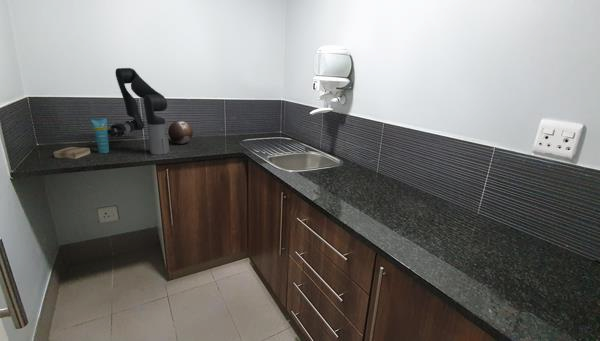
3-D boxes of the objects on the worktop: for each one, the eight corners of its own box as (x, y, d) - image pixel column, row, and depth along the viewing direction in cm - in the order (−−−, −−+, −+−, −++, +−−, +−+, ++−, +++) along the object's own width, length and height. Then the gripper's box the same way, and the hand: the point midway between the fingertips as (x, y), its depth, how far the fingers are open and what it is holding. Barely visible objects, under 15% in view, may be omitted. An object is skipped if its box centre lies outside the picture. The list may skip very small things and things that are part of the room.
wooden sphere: (180, 147, 184) (179, 123, 179) (164, 143, 189) (161, 121, 185) (198, 143, 196) (196, 121, 192) (182, 139, 202) (180, 118, 198)
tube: (97, 154, 160) (91, 119, 154) (95, 152, 163) (89, 118, 157) (112, 152, 165) (107, 118, 159) (110, 150, 168) (105, 117, 162)
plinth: (90, 153, 161) (89, 147, 160) (75, 158, 150) (74, 152, 149) (70, 152, 161) (69, 146, 160) (54, 157, 150) (53, 151, 149)
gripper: (108, 122, 177) (89, 127, 161) (131, 123, 177) (114, 128, 161) (110, 134, 179) (91, 140, 164) (132, 135, 179) (116, 141, 164)
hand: (103, 134), depth 162 cm, fingers open, 8 cm apart
